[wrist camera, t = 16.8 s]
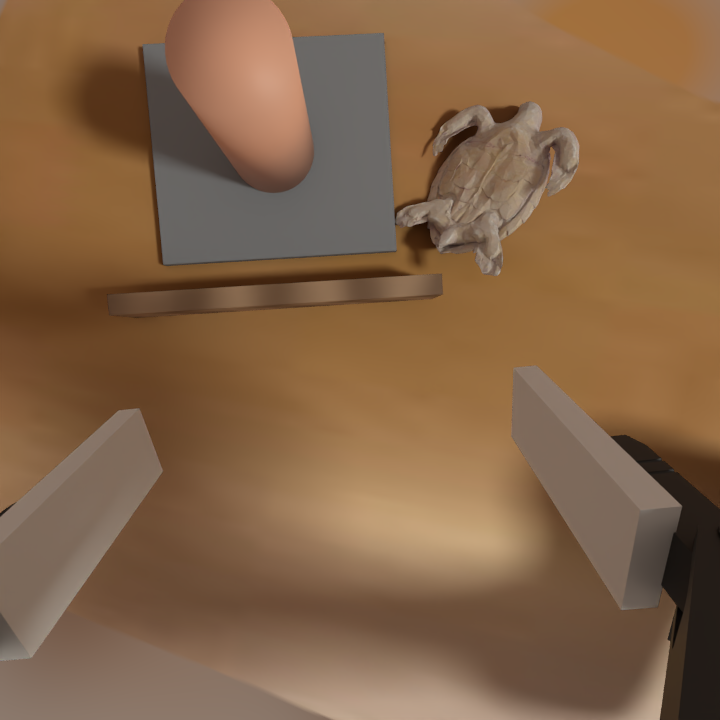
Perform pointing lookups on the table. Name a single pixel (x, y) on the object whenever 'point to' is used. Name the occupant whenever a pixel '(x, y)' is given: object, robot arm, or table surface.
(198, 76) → the pink rounded cylinder
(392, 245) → the mat
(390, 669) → the table surface
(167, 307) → the wooden plank
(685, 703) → the robot arm
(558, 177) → the turtle
